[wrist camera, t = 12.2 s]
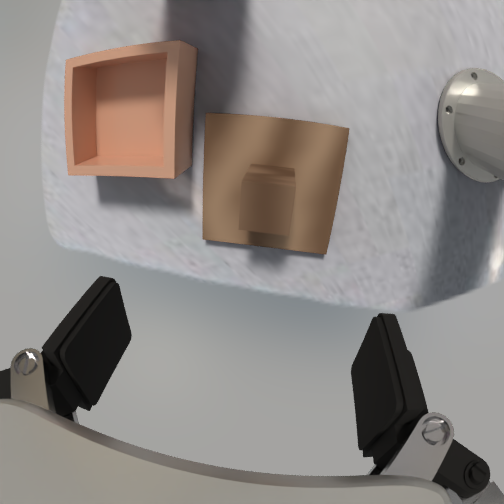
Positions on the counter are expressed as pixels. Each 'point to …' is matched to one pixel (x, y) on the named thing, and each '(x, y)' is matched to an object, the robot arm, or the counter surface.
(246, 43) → the counter surface
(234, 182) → the lid
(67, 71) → the dish
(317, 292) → the counter surface
